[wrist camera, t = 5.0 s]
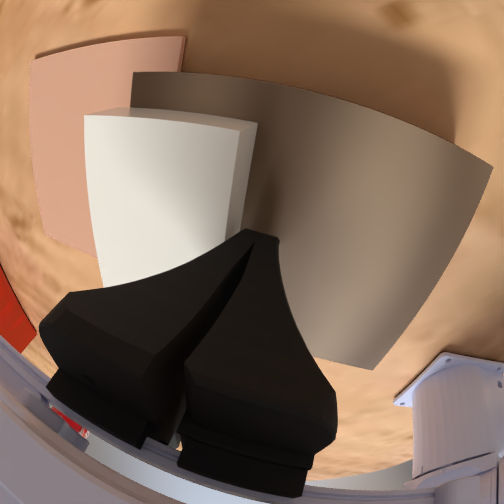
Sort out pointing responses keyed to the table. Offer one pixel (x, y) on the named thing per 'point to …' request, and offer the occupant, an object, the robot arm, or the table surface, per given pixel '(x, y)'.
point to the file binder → (13, 318)
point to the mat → (82, 121)
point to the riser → (340, 204)
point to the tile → (163, 186)
